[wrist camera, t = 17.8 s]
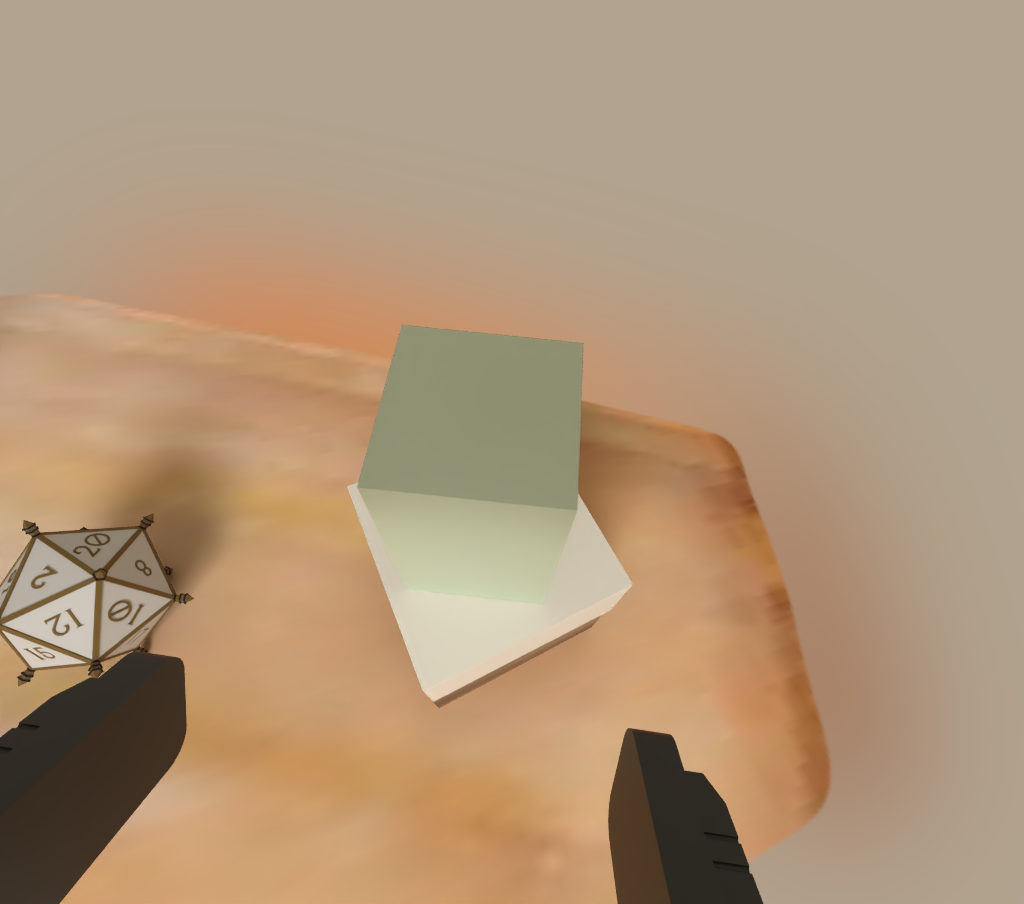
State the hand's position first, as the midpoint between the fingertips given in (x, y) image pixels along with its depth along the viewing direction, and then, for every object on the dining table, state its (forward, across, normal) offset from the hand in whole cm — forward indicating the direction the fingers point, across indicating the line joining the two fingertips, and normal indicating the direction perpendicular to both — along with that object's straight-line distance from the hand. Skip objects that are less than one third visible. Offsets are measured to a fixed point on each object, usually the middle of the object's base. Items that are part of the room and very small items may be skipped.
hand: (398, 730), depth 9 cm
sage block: (+15, 0, +3) cm, 15 cm away
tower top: (+18, 0, +6) cm, 19 cm away
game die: (+19, +20, +13) cm, 30 cm away
